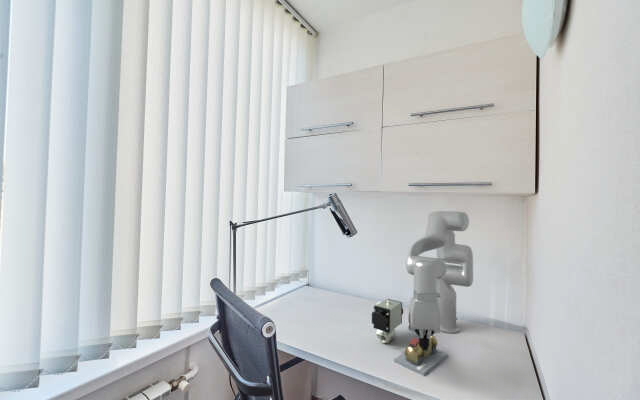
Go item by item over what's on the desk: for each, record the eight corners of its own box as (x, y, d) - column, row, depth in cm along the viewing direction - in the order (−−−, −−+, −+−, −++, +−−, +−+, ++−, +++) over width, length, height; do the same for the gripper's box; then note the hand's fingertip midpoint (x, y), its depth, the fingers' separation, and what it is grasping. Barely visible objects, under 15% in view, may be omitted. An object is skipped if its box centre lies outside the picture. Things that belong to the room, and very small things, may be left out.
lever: (418, 330, 110) (418, 326, 110) (426, 331, 109) (426, 328, 109) (408, 346, 96) (408, 342, 96) (416, 349, 95) (416, 345, 95)
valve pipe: (425, 346, 116) (425, 325, 116) (437, 351, 112) (437, 329, 112) (404, 361, 104) (404, 336, 105) (417, 367, 100) (417, 342, 101)
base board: (419, 345, 119) (419, 342, 119) (447, 356, 110) (447, 353, 110) (394, 361, 106) (394, 358, 106) (424, 375, 97) (424, 372, 97)
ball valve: (386, 330, 133) (387, 293, 133) (403, 336, 127) (404, 297, 128) (368, 344, 119) (368, 302, 120) (386, 350, 114) (387, 307, 114)
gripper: (442, 293, 101) (442, 344, 100) (401, 291, 102) (400, 342, 101) (450, 300, 93) (450, 355, 93) (405, 298, 95) (404, 352, 94)
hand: (423, 348), depth 97 cm, fingers closed
